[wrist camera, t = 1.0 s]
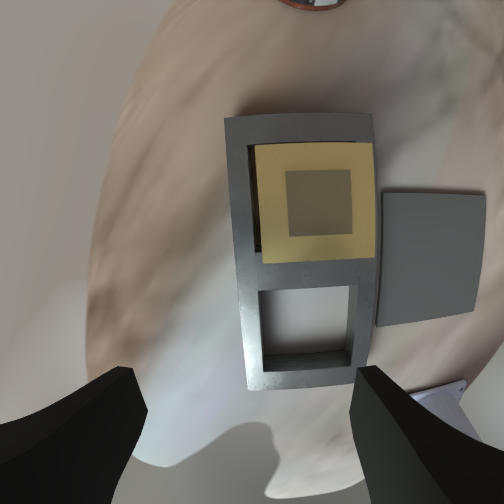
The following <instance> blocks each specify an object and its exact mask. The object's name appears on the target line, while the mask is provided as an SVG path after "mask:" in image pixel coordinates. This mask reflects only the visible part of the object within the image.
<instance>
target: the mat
mask: <svg viewBox="0 0 504 504" xmlns="http://www.w3.org/2000/svg"><path fill="white" fill-rule="evenodd" d="M485 221H486V196H484V195H467V194H444V193H395V192H381V256H380V275H379V290H378V301H377V311H376V321H375V325H376V327H381V326H389V325H397V324H404V323H410V322H417V321H423V320H429V319H435V318H441V317H446V316H452V315H457V314H462V313H467V312H472V311H474V306H475V301H476V296H477V291H478V285H479V279H480V272H481V265H482V257H483V248H484V237H485Z"/></svg>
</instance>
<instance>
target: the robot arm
mask: <svg viewBox="0 0 504 504" xmlns="http://www.w3.org/2000/svg"><path fill="white" fill-rule="evenodd" d="M466 384H467V382H466V380H460V381H457V382H454V383H451V384H447V385H444V386H440V387H436V388H433V389H429V390H425V391H421V392H417V393H413V394H408V393H406V392H405V391H404V390H403V389H402V388H401V387H400V386H398V385H397V384H396V383H395V382H394V381H393V380H392V379H391V378H389V377H388V376H387V375H386V374H385V373H384V372H383V371H382V370H380V369H379V368H378V367H377V366H376V365H373V366H366V367H358V368H357V371H356V378H355V384H354V390H353V395H352V401H351V406H350V411H349V414H350V421H351V427H352V433H353V439H354V442H355V446H356V449H357V452H358V456H359V459H360V463H361V466H362V469H363V473H364V476H365V480H366V483H367V487H368V490H369V495H370V499H371V504H504V451H502V450H499V449H497V448H494V447H492V446H489V445H487V444H484V443H483V442H482V440H481V439H480V437H479V435H478V434H477V432H476V431H475V429H474V428H473V426H472V424H471V423H470V421H469V420H468V418H467V417H466V415H465V413H464V412H463V410H462V409H461V407H460V406H459V404H458V403H459V401H460V399H461V396H462V394H463V392H464V389H465V387H466ZM147 413H148V409H147V407H146V404H145V402H144V399H143V396H142V394H141V391H140V388H139V386H138V383H137V380H136V377H135V374H134V371H133V368H128V367H120V366H117V367H115V368H113V369H111V370H110V371H108V372H106V373H104V374H103V375H101V376H99V377H98V378H96V379H95V380H93V381H91V382H90V383H88V384H86V385H85V386H83V387H82V388H80V389H78V390H77V391H75V392H73V393H72V394H70V395H68V396H66V397H65V398H63V399H61V400H59V401H57V402H55V403H54V404H52V405H50V406H48V407H46V408H44V409H42V410H40V411H38V412H35V413H33V414H31V415H28V416H25V417H23V418H20V419H18V420H14V421H11V422H7V423H4V424H0V504H111V501H112V498H113V495H114V492H115V489H116V486H117V484H118V481H119V479H120V477H121V475H122V473H123V471H124V468H125V467H126V464H127V462H128V460H129V458H130V456H131V454H132V452H133V450H134V448H135V446H136V444H137V442H138V439H139V437H140V435H141V432H142V429H143V426H144V423H145V420H146V416H147Z"/></svg>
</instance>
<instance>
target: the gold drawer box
mask: <svg viewBox="0 0 504 504" xmlns="http://www.w3.org/2000/svg"><path fill="white" fill-rule="evenodd" d="M255 158H256V171H257V185H258V199H259V214H260V228H261V243H262V259H263V264H265V263H285V262H303V261H322V260H339V259H356V258H373V257H375V181H374V162H373V148H372V143H347V142H322V143H287V144H269V145H255Z"/></svg>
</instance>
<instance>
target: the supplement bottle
mask: <svg viewBox="0 0 504 504" xmlns="http://www.w3.org/2000/svg"><path fill="white" fill-rule="evenodd" d="M279 1H281V2H283V3H285V4H287V5H289V6H292V7H295V8H299V9H304V10H311V11H313V10H314V11H319V10H328V9H331V8H335V7H337V6H339V5H341V4H342V3H343V2H344V1H345V0H279Z"/></svg>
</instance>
